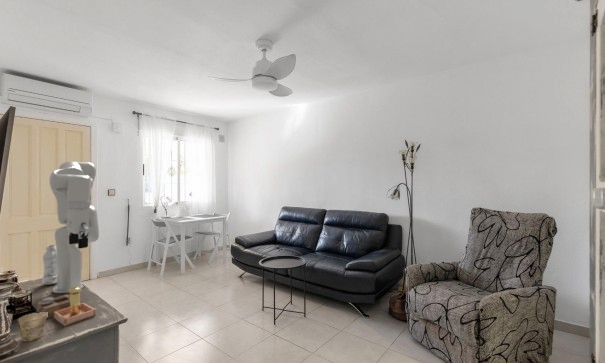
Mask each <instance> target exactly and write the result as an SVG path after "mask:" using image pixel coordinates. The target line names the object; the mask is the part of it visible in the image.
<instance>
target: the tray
mask: <svg viewBox="0 0 605 363" xmlns="http://www.w3.org/2000/svg"><path fill="white" fill-rule="evenodd" d="M92 316H93V317H95V316H96V308H94V307H92V306H91V305H89V304H86V303H85V302H80V314H78V315H75V316H72V317H70V307H68V308H65V309H62V310H58V311H55V312H54V316H53V319H54V320H56V321H57V322H59V323H60V324H61V325H62V326H64V327H66V326H70V325H72V324H75V323H78V322H81V321H84V320H86V319H87V320H88V319H89V318H92Z"/></svg>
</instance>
